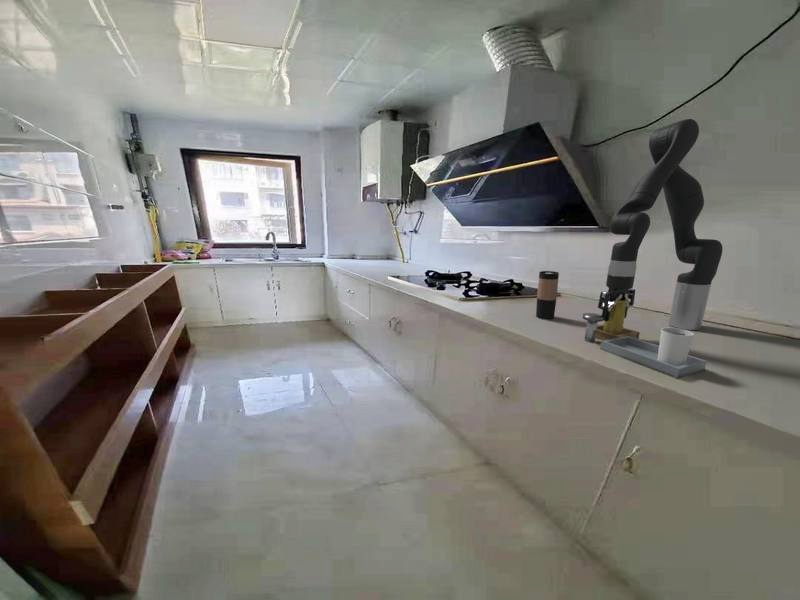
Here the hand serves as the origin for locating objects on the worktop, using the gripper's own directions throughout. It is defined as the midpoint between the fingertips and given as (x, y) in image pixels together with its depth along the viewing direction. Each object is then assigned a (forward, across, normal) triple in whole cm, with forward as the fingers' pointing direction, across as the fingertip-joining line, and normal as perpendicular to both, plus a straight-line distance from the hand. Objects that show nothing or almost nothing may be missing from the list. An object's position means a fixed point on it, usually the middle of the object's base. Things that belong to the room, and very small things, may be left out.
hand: (613, 319), depth 105 cm
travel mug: (+7, +2, -28) cm, 29 cm away
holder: (+7, 0, 0) cm, 7 cm away
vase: (+7, 0, 0) cm, 7 cm away
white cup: (+6, +7, +22) cm, 24 cm away
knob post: (+7, +9, -1) cm, 12 cm away
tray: (+7, +7, +16) cm, 19 cm away
